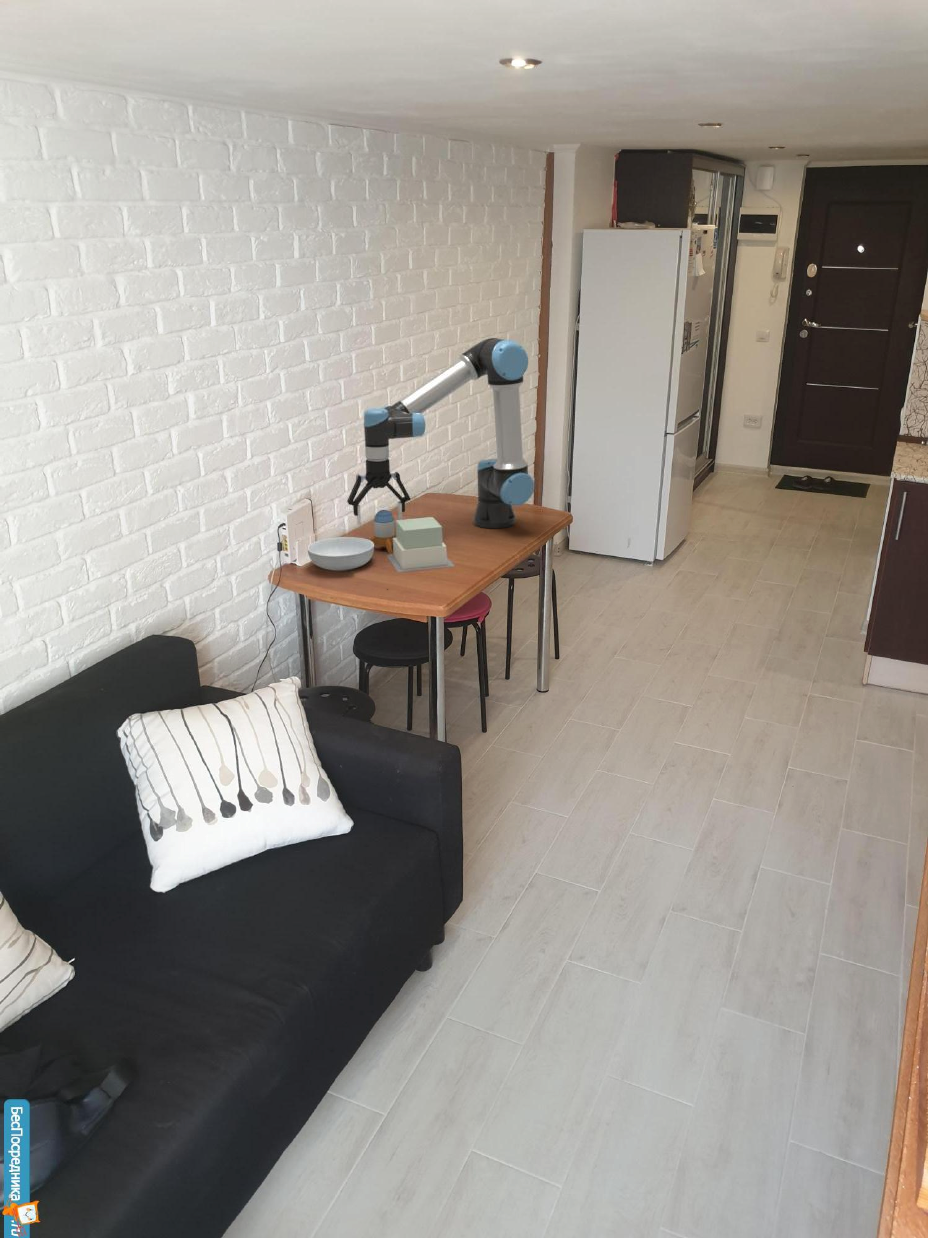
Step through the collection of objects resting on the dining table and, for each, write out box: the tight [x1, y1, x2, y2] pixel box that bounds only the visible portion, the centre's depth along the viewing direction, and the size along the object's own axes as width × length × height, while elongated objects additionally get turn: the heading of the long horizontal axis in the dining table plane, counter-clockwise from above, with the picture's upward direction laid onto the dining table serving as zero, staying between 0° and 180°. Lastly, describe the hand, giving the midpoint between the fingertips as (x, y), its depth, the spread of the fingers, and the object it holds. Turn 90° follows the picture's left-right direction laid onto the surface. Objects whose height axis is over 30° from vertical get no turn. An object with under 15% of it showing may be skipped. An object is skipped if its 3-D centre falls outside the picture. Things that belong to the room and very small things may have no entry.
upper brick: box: [395, 516, 443, 549], centre depth 297 cm, size 12×12×6 cm
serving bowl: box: [307, 536, 375, 572], centre depth 298 cm, size 21×21×7 cm
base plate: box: [386, 553, 455, 573], centre depth 300 cm, size 18×18×1 cm
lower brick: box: [392, 537, 448, 569], centre depth 299 cm, size 14×14×6 cm
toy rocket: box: [369, 509, 397, 555], centre depth 309 cm, size 10×11×15 cm
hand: (379, 523), depth 309 cm, fingers open, 13 cm apart
